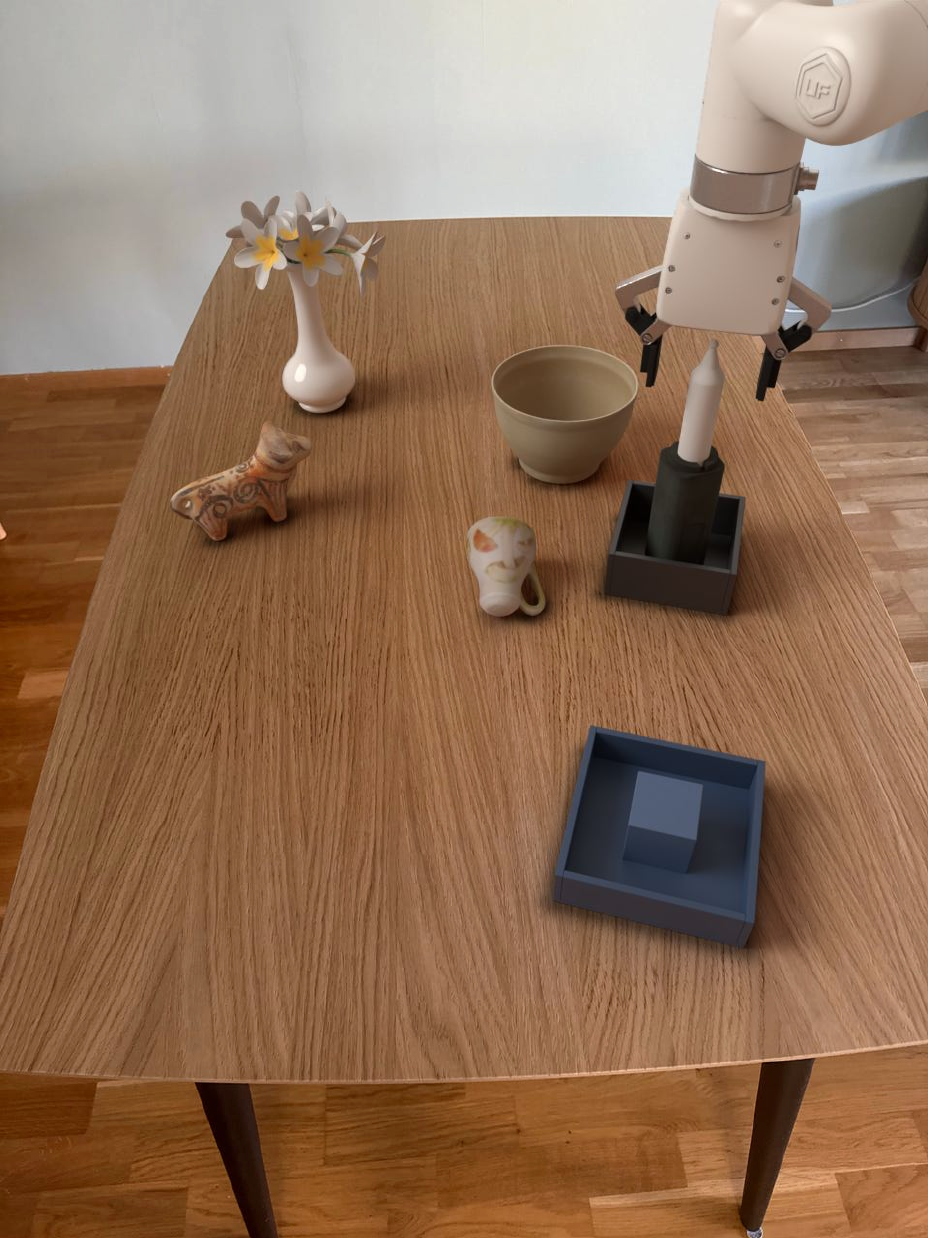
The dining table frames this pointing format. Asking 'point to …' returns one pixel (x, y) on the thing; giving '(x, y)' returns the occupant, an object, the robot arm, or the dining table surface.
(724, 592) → the charcoal bin
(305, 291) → the flower vase
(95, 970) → the dining table surface
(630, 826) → the blue block
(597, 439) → the planter bowl
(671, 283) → the robot arm
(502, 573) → the mug
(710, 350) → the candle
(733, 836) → the blue bin
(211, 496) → the figurine
